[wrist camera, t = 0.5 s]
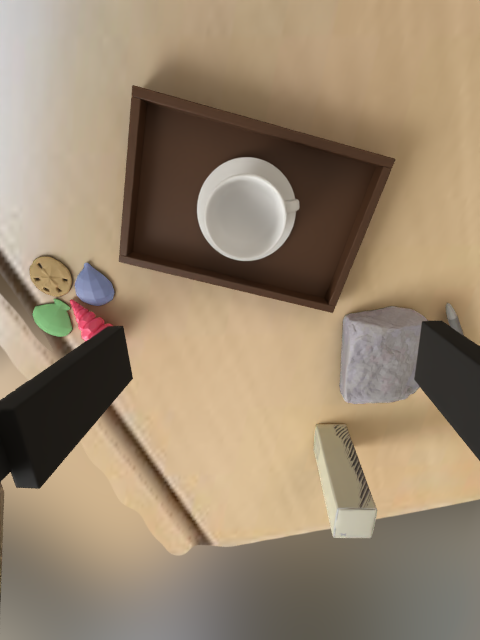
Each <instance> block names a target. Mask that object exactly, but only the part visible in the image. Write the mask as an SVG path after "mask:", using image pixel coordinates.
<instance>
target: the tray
mask: <svg viewBox="0 0 480 640" xmlns="http://www.w3.org/2000/svg"><path fill="white" fill-rule="evenodd" d="M132 96H133V97H132V98H131V111H130V124H129V137H128V150H127V163H126V175H125V188H124V201H123V214H122V227H121V240H120V253H119V254H120V255H119V262H122V263H126V264H130V265H134V266H139V267H143V268H147V269H151V270H155V271H160V272H164V273H168V274H172V275H176V276H181V277H185V278H189V279H193V280H197V281H201V282H206V283H210V284H214V285H218V286H222V287H227V288H231V289H235V290H239V291H243V292H248V293H252V294H256V295H260V296H264V297H269V298H273V299H277V300H281V301H285V302H289V303H294V304H298V305H302V306H306V307H310V308H315V309H319V310H323V311H327V312H331V313H333V311H334V309H335V306H336V304H337V301H338V299H339V296H340V294H341V292H342V289H343V287H344V284H345V282H346V279H347V277H348V274H349V272H350V269H351V267H352V265H353V262H354V260H355V257H356V255H357V252H358V250H359V247H360V245H361V242H362V240H363V238H364V235H365V233H366V230H367V228H368V225H369V223H370V220H371V218H372V215H373V213H374V211H375V208H376V206H377V203H378V201H379V198H380V196H381V193H382V191H383V188H384V186H385V184H386V181H387V179H388V176H389V174H390V171H391V168H392V166H393V164H394V161H395V159H393V158H390V157H386V156H383V155H379V154H376V153H372V152H369V151H365V150H361V149H358V148H354V147H351V146H347V145H344V144H340V143H337V142H333V141H329V140H326V139H322V138H319V137H315V136H312V135H308V134H305V133H301V132H297V131H294V130H290V129H287V128H283V127H280V126H276V125H273V124H269V123H266V122H262V121H258V120H255V119H251V118H248V117H244V116H241V115H237V114H234V113H230V112H226V111H223V110H219V109H216V108H212V107H209V106H205V105H202V104H198V103H194V102H191V101H187V100H184V99H180V98H177V97H173V96H170V95H166V94H162V93H159V92H155V91H152V90H148V89H145V88H141V87H138V86H134V85H133V86H132ZM242 157H252V158H257V159H261V160H264V161H266V162H268V163H270V164H272V165H273V166H275V167H276V168H277V169H279V170H280V171H281V172H282V173H283V175H284V176H285V177H286V178H287V180H288V182H289V183H290V185H291V187H292V190H293V193H294V196H295V199H298V200H299V210H297V211H296V216H295V221H294V225H293V228H292V230H291V232H290V234H289V236H288V238H287V239H286V241H285V242H284V243H283V244H282V246H281V247H279V248H278V249H277V250H276V251H275V252H273V253H272V254H270V255H268V256H266V257H264V258H261V259H258V260H253V261H240V260H235V259H231V258H229V257H226V256H224V255H222V254H221V253H219V252H218V251H217V250H215V249H214V248H213V247H212V246H211V245H210V244H209V242H208V241H207V240H206V238H205V237H204V235H203V233H202V231H201V228H200V225H199V222H198V216H197V203H198V197H199V193H200V190H201V188H202V186H203V184H204V182H205V180H206V179H207V177H208V176H209V175H210V174H211V173H212V172H213V171H214V170H215V169H216V168H217V167H219V166H220V165H221V164H223V163H225V162H227V161H229V160H232V159H236V158H242Z"/></svg>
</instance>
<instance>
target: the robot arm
mask: <svg viewBox="0 0 480 640" xmlns="http://www.w3.org/2000/svg"><path fill="white" fill-rule="evenodd" d="M132 379H133V377H132V371H131V366H130V360H129V355H128V350H127V344H126V339H125V333H124V328H123V326H107V327H106V328H104V329H103V330H101V331H100V332H99V333H97V334H96V335H94V336H93V337H91V338H90V339H89V340H87V341H86V342H84V343H83V344H81V345H80V346H78V347H77V348H76V349H74V350H73V351H71V352H70V353H68V354H67V355H66V356H64V357H63V358H61V359H60V360H58V361H57V362H55V363H54V364H53V365H51V366H50V367H48V368H47V369H45V370H44V371H43V372H41V373H40V374H38V375H37V376H35V377H34V378H32V379H31V380H29V381H27V382H26V383H25V384H23V385H21V386H20V387H19V388H17V389H16V390H15V391H13V392H11V393H10V394H8V395H7V396H6V397H5V398H3V399H1V400H0V600H1V570H2V538H3V510H4V508H3V507H4V490H3V487H2V485H1V480H3V479H4V478H5V477H6V476H7V475H8V474H9V472H11V474H12V476H13V479H14V482H15V485H16V487H17V488H41V486H42V485H43V484H44V483H45V482H46V480H47V479H48V478H49V477H50V476H51V475H52V473H53V472H54V471H55V470H56V469H57V467H58V466H59V465H60V464H61V463H62V461H63V460H64V459H65V458H66V457H67V456H68V454H69V453H70V452H71V451H72V450H73V448H74V447H75V446H76V445H77V444H78V443H79V441H80V440H81V439H82V438H83V437H84V436H85V434H86V433H87V432H88V431H89V430H90V428H91V427H92V426H93V425H94V424H95V423H96V421H97V420H98V419H99V418H100V417H101V415H102V414H103V413H104V412H105V411H106V410H107V408H108V407H109V406H110V405H111V404H112V402H113V401H114V400H115V399H116V398H117V397H118V395H119V394H120V393H121V392H122V391H123V389H124V388H125V387H126V386H127V385H128V384H129V382H130V381H131V380H132ZM414 380H415V381H416V382H417V384H418V385H419V386H420V387H421V389H422V390H423V391H424V392H425V394H426V395H427V396H428V397H429V399H430V400H431V401H432V402H433V404H434V405H435V406H436V407H437V409H438V410H439V411H440V412H441V413H442V415H443V416H444V417H445V418H446V420H447V421H448V422H449V423H450V425H451V426H452V427H453V428H454V430H455V431H456V432H457V433H458V435H459V436H460V437H461V438H462V439H463V441H464V442H465V443H466V444H467V446H468V447H469V448H470V449H471V451H472V452H473V453H474V454H475V456H476V457H477V458H478V459H479V461H480V346H478V345H477V344H475V343H474V342H472V341H471V340H469V339H468V338H466V337H465V336H463V335H462V334H460V333H459V332H458V331H456V330H455V329H453V328H452V327H450V326H449V325H447V324H446V323H444V322H443V321H422V325H421V332H420V340H419V347H418V355H417V362H416V370H415V377H414Z"/></svg>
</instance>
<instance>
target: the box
mask: <svg viewBox="0 0 480 640" xmlns="http://www.w3.org/2000/svg"><path fill="white" fill-rule="evenodd" d="M314 453H315V458H316V462H317V466H318V471H319V476H320V480H321V485H322V489H323V494H324V499H325V503H326V508H327V512H328V517H329V522H330V526H331V530H332V535H333V537H335V538H371V536H372V532H373V529H374V524H375V519H376V514H377V508H376V505H375V503H374V500H373V498H372V495H371V492H370V490H369V487H368V484H367V481H366V479H365V476H364V473H363V470H362V468H361V465H360V462H359V459H358V456H357V454H356V451H355V448H354V445H353V443H352V440H351V437H350V434H349V432H348V429H347V426H346V425H345V424H317V425H316V427H315V436H314Z"/></svg>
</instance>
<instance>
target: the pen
mask: <svg viewBox="0 0 480 640" xmlns="http://www.w3.org/2000/svg"><path fill="white" fill-rule="evenodd" d="M446 315H447V319H448V322H449V325H450V327H452V328H453V329H455V330H456V331H458V332H459V333H460V334H462V335H463V332H462V329H461V325H460V322H459V319H458V317H457V315H456V312H455V310H454V309H453V307H452V306H451V305H450V304H449V303H447V304H446ZM463 336H464V335H463Z"/></svg>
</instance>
